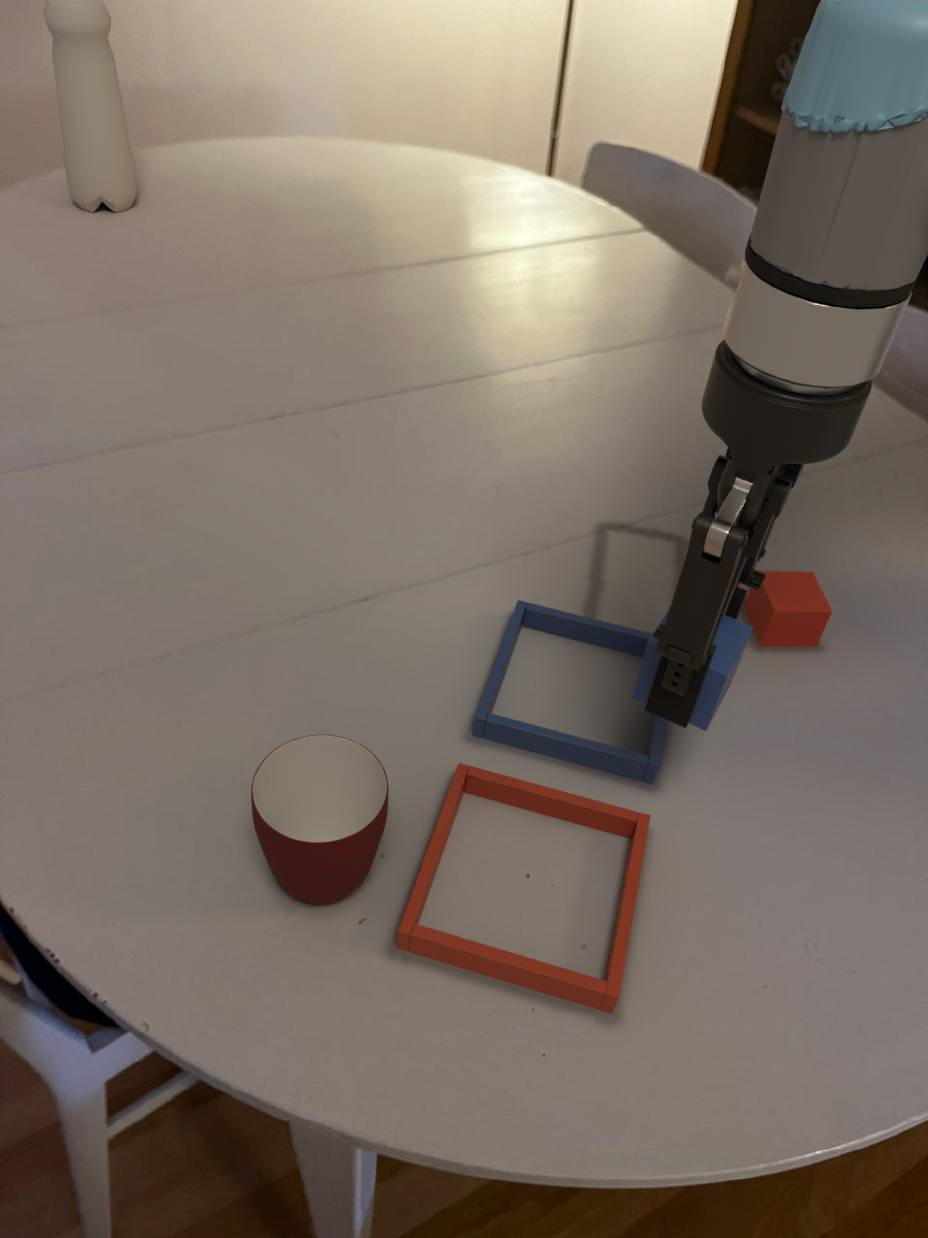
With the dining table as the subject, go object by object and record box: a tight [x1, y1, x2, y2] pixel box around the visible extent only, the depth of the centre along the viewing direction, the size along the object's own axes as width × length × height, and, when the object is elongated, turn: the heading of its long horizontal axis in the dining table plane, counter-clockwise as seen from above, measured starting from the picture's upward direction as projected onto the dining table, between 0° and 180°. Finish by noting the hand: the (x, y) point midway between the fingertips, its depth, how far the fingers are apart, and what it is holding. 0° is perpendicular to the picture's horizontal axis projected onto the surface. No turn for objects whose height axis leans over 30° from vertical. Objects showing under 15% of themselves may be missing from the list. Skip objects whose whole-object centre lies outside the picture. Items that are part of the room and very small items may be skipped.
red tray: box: [395, 762, 651, 1015], centre depth 66 cm, size 14×14×3 cm
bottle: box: [42, 0, 138, 213], centre depth 130 cm, size 9×9×30 cm
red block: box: [743, 570, 833, 648], centre depth 86 cm, size 5×5×5 cm
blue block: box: [631, 605, 753, 732], centre depth 63 cm, size 5×5×5 cm
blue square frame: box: [472, 599, 668, 786], centre depth 79 cm, size 14×14×3 cm
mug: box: [250, 734, 389, 906], centre depth 64 cm, size 10×8×10 cm
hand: (683, 686), depth 65 cm, fingers closed on blue block, 5 cm apart
